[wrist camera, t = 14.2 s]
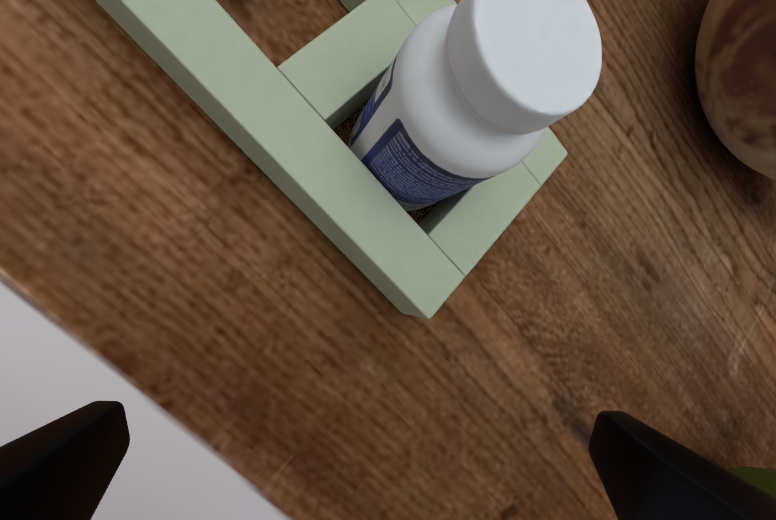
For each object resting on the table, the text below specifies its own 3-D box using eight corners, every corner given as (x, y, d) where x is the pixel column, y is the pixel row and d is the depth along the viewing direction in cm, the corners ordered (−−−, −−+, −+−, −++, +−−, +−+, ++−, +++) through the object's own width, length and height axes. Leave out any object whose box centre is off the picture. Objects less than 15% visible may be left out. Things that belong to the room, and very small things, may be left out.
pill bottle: (456, 202, 19) (642, 130, 10) (360, 223, 17) (477, 157, 8) (432, 101, 19) (599, -69, 10) (333, 110, 17) (421, -89, 8)
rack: (402, 314, 18) (429, 320, 15) (56, -38, 14) (4, -121, 11) (526, 170, 21) (569, 153, 18) (273, -151, 17) (277, -240, 14)
